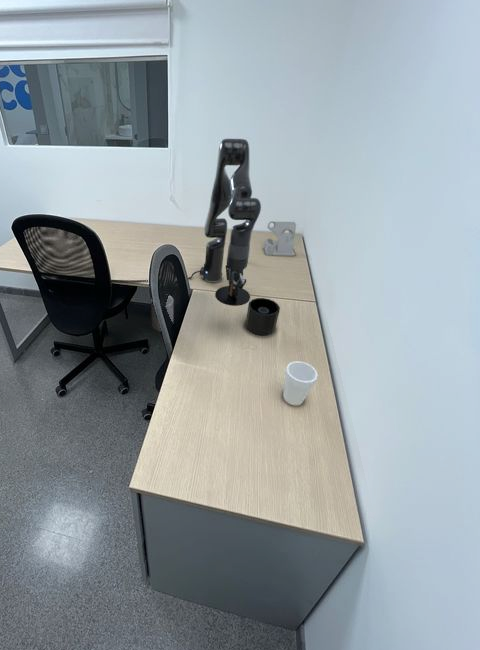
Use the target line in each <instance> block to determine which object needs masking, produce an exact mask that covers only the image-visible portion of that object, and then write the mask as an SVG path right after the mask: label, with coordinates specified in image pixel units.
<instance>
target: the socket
mask: <svg viewBox="0 0 480 650" xmlns="http://www.w3.org/2000/svg"><path fill="white" fill-rule="evenodd" d="M258 313H262V314H269V309H267V308H265V307H260V308H258Z"/></svg>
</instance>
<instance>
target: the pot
mask: <svg viewBox="0 0 480 650" xmlns="http://www.w3.org/2000/svg"><path fill="white" fill-rule="evenodd" d="M260 307H265V308H267V309H269V314H262V313H258V308H260ZM280 311H281V307H280V305H279V304H278V303H277V302H276V301H274V300H272V299H271V298H265V297H257V298H253V299H250V300H249V301H248V306H247V312H246V317H245V323H244V327H245V330H246V331H248V332H249V333H250V334H252V335H255V336H257V337H258V336H260V337H267V336H271V335H273V334H274V333H275V331H276V327H277V323H278V320H279V315H280Z"/></svg>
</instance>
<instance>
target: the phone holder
mask: <svg viewBox="0 0 480 650" xmlns="http://www.w3.org/2000/svg"><path fill="white" fill-rule="evenodd" d="M270 224H273V225H272V227H271V226H270ZM267 229H268V230H269V231H270V232H272V234H274V235H275V236H277V245H276V243H275V240H274V239H272V238H267V239H265V243H264V249H263V250H264V252H265V255H267V256H283V257H284V256H288V257H294V256H295V255H296V253H295V251H294V244H295V239H296V237H295V236H296V229H297V223H296V222H295V221H278V220H277V221H273V220H272V221H269V222H268V223H267ZM286 231H288V233H287V234H285V232H286Z"/></svg>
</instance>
